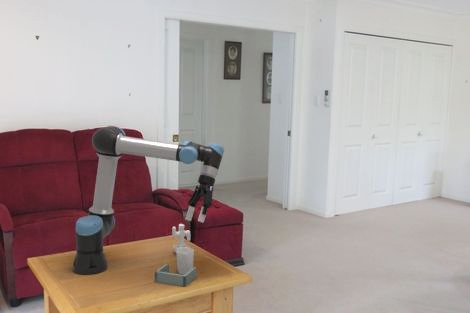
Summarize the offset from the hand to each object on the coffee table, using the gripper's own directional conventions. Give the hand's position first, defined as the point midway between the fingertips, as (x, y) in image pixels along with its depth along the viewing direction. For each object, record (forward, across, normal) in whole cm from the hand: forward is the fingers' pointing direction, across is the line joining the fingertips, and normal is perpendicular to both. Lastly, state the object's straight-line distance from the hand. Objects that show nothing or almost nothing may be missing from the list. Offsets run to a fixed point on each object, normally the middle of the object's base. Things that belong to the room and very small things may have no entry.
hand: (194, 221), depth 214 cm
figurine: (+15, +28, -11) cm, 33 cm away
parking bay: (+26, -2, +1) cm, 26 cm away
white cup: (+23, +4, -5) cm, 24 cm away
